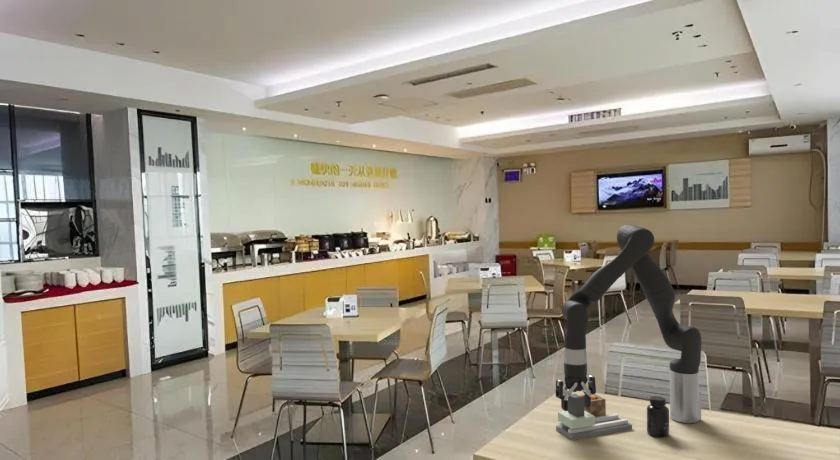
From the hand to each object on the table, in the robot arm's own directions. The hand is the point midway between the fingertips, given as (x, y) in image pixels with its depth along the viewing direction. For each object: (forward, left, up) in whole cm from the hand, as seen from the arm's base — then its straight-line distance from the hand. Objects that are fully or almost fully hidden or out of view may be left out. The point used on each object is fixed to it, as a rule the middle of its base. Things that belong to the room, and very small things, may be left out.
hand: (576, 408), depth 184 cm
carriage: (0, 0, -5) cm, 5 cm away
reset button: (-12, -9, -4) cm, 16 cm away
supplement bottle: (-24, +11, -8) cm, 28 cm away
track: (-7, 0, -8) cm, 11 cm away
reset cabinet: (-12, -9, -8) cm, 17 cm away
